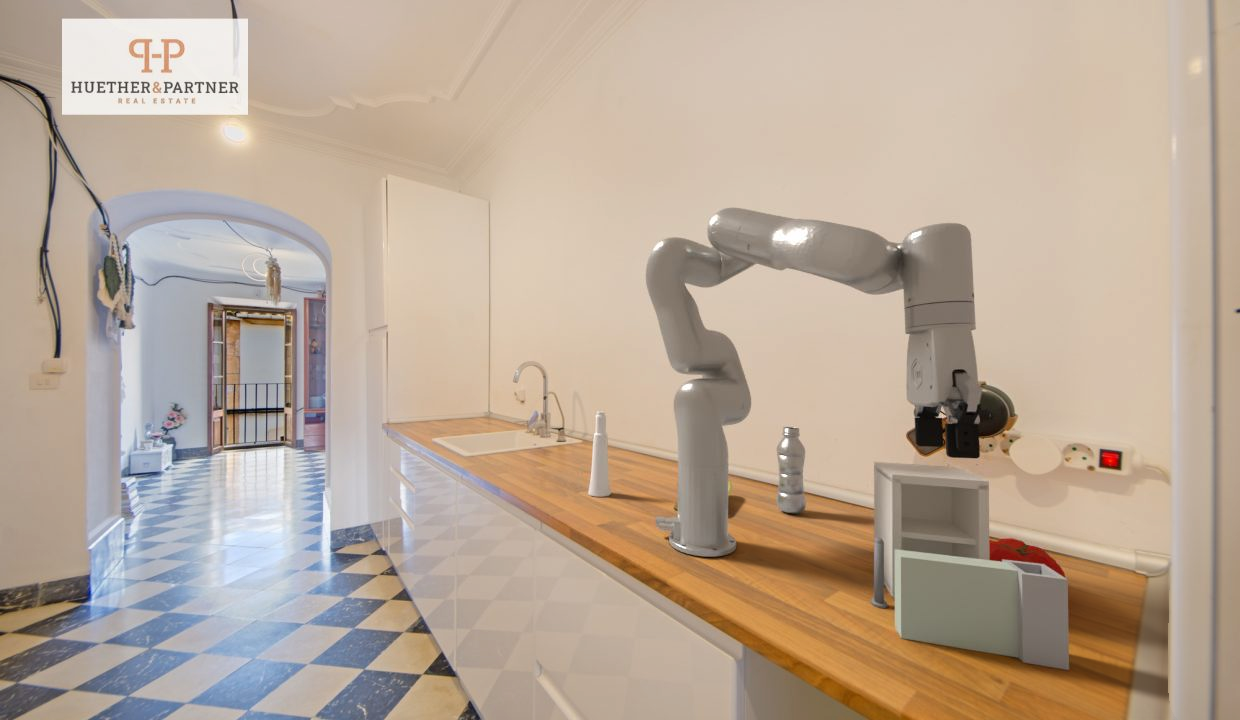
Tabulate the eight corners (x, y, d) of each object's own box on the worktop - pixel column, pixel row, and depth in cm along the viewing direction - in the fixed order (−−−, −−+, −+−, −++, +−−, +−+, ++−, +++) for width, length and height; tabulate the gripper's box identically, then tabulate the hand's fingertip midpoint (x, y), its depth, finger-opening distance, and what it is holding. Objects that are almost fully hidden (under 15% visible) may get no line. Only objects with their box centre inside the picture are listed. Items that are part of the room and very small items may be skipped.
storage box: (1044, 647, 53) (1043, 564, 53) (1069, 670, 49) (1067, 579, 49) (892, 623, 58) (892, 546, 58) (903, 642, 54) (903, 559, 54)
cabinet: (873, 606, 62) (872, 478, 62) (851, 565, 75) (851, 460, 76) (1005, 626, 57) (1004, 488, 58) (957, 579, 71) (956, 467, 71)
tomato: (1003, 601, 64) (1002, 556, 64) (963, 569, 75) (962, 530, 75) (1084, 610, 62) (1083, 563, 62) (1031, 575, 73) (1030, 536, 73)
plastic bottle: (790, 518, 100) (790, 430, 100) (770, 509, 106) (770, 426, 107) (812, 515, 102) (812, 429, 103) (791, 506, 108) (791, 425, 109)
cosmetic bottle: (583, 493, 117) (585, 411, 118) (601, 489, 121) (603, 410, 122) (597, 498, 113) (598, 413, 113) (615, 494, 117) (616, 412, 117)
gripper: (886, 329, 67) (890, 442, 66) (933, 311, 50) (940, 461, 49) (943, 327, 65) (948, 443, 64) (1011, 308, 48) (1020, 464, 47)
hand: (944, 451), depth 57 cm, fingers open, 9 cm apart
